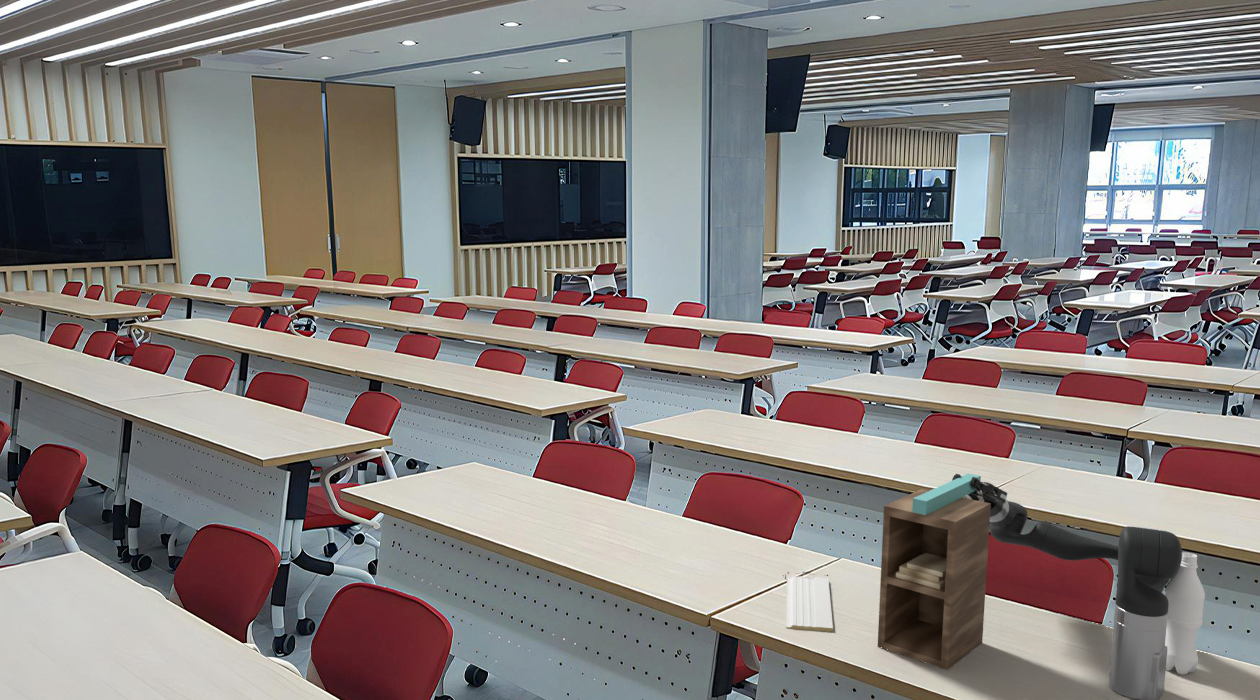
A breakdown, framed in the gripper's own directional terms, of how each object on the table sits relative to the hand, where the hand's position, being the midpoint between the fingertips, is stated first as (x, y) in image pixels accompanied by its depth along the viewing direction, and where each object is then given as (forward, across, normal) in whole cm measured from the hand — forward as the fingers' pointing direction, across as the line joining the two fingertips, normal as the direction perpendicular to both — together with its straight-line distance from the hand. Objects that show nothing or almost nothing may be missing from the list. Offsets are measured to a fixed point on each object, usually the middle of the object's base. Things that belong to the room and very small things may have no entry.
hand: (964, 479), depth 215 cm
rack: (-6, 0, +37) cm, 37 cm away
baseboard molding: (-7, -33, +37) cm, 50 cm away
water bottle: (-27, +43, +25) cm, 57 cm away
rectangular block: (+6, 0, +7) cm, 9 cm away
